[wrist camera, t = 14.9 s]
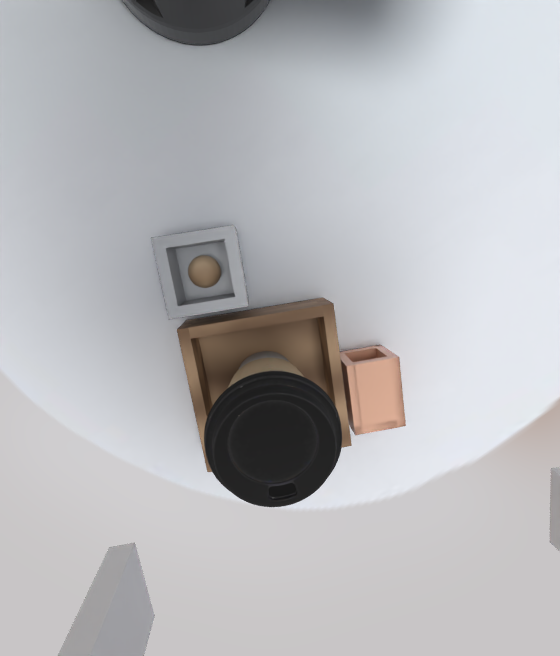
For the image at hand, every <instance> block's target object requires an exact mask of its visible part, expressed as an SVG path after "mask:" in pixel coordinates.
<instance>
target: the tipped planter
mask: <svg viewBox="0 0 560 656" xmlns="http://www.w3.org/2000/svg"><path fill="white" fill-rule="evenodd" d="M340 360H341V368H342V375H343V383H344V391H345V399H346V407H347V414H348V422H349V425H350V427H351V429H352V430H353V432H354V434H355V435H359V434H364V433H370V432H375V431H381V430H386V429H392V428H397V427H402V426H406V424H405V414H404V404H403V393H402V383H401V372H400V362H399V357H398V356H397V355H395V354H394V353H392V352H391V351H389V350H388V349H386V348H385V347H383V346H382V345H376V346H370V347H365V348H359V349H353V350H347V351H341V352H340Z"/></svg>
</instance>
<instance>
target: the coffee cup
mask: <svg viewBox="0 0 560 656" xmlns="http://www.w3.org/2000/svg"><path fill="white" fill-rule="evenodd" d="M204 446H205V453H206V457H207V461H208V464H209V466H210V468H211V470H212V472H213V474H214V475H215V476H216V478H217V479H218V480H219V482H220V483H221V484H222V485H223V486H224V487H225V488H227V489H228V490H229V491H231V492H232V493H233V494H234V495H236V496H237V497H239V498H240V499H242V500H244V501H246V502H248V503H251V504H254V505H258V506H264V507H281V506H286V505H291V504H294V503H296V502H299V501H301V500H303V499H305V498H307V497H308V496H310V495H311V494H313V493H314V492H315V491H316V490H318V489H319V488H320V487H321V485H322V484H323V483H324V482H325V481H326V479H327V478H328V476H329V475H330V474H331V472H332V471H333V469H334V467H335V465H336V463H337V461H338V458H339V455H340V452H341V446H342V429H341V421H340V417H339V414H338V411H337V409H336V407H335V405H334V403H333V401H332V400H331V398H330V397H329V396H328V394H327V393H326V392H325V391H324V390H323V389H322V388H321V387H319V386H318V385H317V384H316V383H314V382H313V381H311V380H309V379H307V378H305V377H304V376H303V375H302V373H301V372H300V371H299V370H298V369H297V368H296V367H295V366H294V365H293V364H291V363H290V362H289V361H288V360H287V358H285V357H284V356H283V355H281V354H279V353H277V352H273V351H262V352H258V353H255V354H253V355H251V356H249V357H247V358H246V359H245V360H244V361H243V362H242V363H241V365H240V367H239V369H238V371H237V372H236V373H235V374H234V376H233V378H232V380H231V382H230V384H229V386H228V388H227V389H226V390H225V391H224V392H223V393H222V394H221V395H220V396H219V397H218V399H217V400H216V401H215V403H214V405H213V406H212V408H211V410H210V412H209V414H208V417H207V420H206V423H205V429H204Z"/></svg>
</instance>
